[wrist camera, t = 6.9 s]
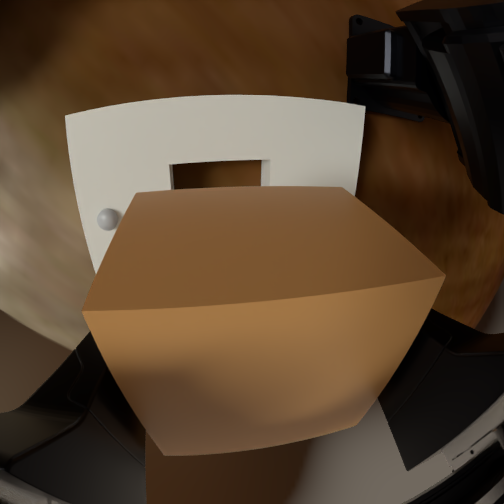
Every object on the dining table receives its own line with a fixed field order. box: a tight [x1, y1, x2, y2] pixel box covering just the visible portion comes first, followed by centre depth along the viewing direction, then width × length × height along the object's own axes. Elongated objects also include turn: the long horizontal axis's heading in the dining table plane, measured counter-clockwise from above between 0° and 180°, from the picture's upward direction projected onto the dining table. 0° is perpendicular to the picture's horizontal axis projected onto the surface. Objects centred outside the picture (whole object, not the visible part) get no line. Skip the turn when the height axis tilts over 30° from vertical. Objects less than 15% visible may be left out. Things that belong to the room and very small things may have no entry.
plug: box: [82, 186, 446, 456], centre depth 9 cm, size 6×6×7 cm
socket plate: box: [65, 95, 365, 274], centre depth 16 cm, size 16×12×2 cm
